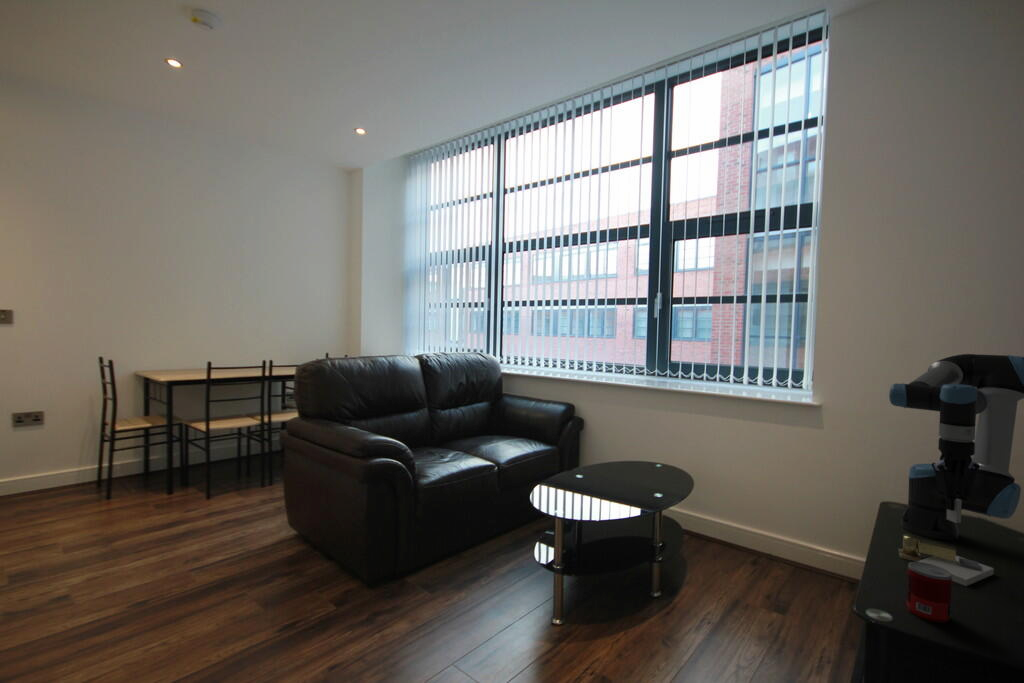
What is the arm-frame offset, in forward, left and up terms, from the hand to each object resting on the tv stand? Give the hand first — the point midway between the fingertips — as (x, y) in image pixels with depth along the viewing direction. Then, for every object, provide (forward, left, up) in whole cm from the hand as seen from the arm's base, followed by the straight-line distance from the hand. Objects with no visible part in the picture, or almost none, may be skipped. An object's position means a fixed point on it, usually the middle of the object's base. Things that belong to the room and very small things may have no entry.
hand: (953, 520), depth 136 cm
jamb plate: (0, -10, -15) cm, 18 cm away
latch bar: (-2, -6, -14) cm, 15 cm away
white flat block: (-2, 0, -15) cm, 15 cm away
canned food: (+32, +8, -15) cm, 36 cm away
